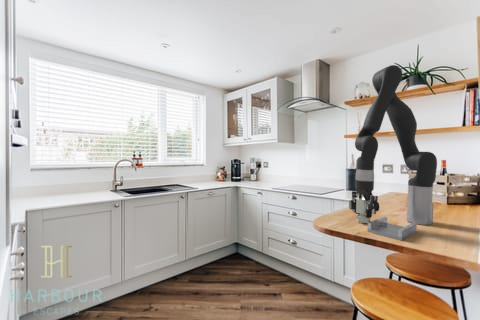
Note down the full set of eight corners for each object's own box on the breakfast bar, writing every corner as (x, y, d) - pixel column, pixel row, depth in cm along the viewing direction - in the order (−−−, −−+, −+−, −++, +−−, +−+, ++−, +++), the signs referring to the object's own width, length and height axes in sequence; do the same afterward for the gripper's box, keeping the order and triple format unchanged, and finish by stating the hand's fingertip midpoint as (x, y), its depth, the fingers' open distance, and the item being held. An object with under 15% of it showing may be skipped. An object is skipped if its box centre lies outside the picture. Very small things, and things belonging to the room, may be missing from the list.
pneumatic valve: (378, 224, 105) (379, 198, 105) (350, 222, 108) (351, 196, 107) (374, 221, 111) (375, 196, 111) (347, 219, 113) (348, 194, 113)
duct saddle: (384, 224, 106) (384, 216, 106) (416, 232, 96) (416, 223, 96) (367, 231, 96) (367, 222, 96) (401, 240, 86) (401, 230, 86)
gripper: (384, 181, 102) (382, 219, 103) (360, 177, 116) (359, 211, 117) (369, 181, 101) (367, 220, 101) (347, 177, 115) (345, 212, 115)
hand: (363, 215), depth 109 cm, fingers closed on pneumatic valve, 6 cm apart
